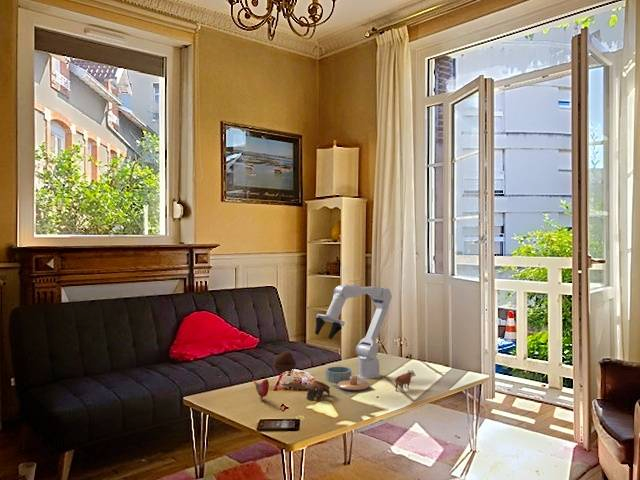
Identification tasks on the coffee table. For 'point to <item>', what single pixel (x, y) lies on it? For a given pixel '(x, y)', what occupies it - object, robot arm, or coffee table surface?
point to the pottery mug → (317, 393)
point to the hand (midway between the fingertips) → (323, 336)
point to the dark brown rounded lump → (284, 362)
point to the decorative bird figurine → (262, 388)
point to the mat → (353, 390)
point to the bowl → (338, 374)
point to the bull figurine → (404, 379)
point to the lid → (353, 384)
